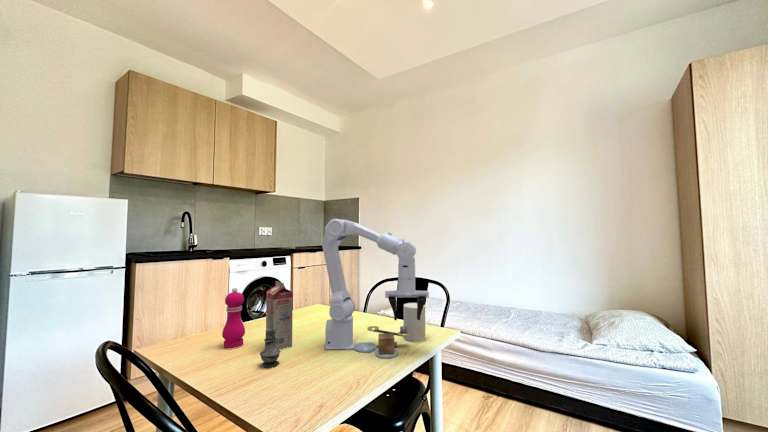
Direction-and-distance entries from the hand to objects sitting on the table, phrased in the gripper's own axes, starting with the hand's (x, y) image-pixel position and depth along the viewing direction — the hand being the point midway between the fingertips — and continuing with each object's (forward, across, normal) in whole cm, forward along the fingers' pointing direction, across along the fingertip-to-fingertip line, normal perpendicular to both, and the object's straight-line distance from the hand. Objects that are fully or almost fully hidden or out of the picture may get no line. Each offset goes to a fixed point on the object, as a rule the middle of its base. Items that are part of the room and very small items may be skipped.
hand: (406, 319), depth 104 cm
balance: (+10, -6, +5) cm, 13 cm away
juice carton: (+11, -44, +6) cm, 46 cm away
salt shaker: (+11, -42, -9) cm, 44 cm away
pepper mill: (+11, -60, +7) cm, 61 cm away
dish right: (+10, -7, -2) cm, 13 cm away
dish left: (+10, -14, +3) cm, 18 cm away
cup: (+11, +4, +13) cm, 17 cm away
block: (+10, -7, -2) cm, 12 cm away
